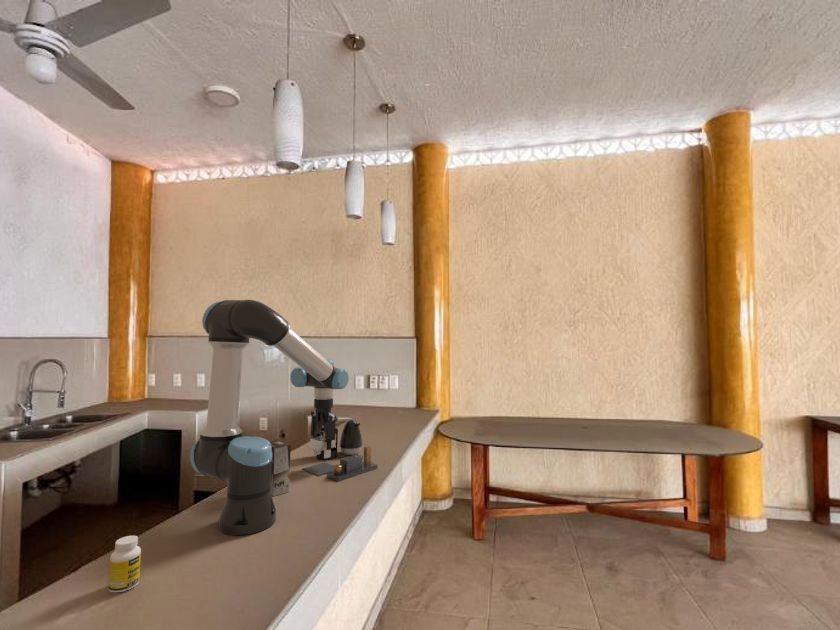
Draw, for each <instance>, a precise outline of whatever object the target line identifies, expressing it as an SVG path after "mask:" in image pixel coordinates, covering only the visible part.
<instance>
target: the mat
mask: <svg viewBox="0 0 840 630" xmlns="http://www.w3.org/2000/svg"><path fill="white" fill-rule="evenodd" d="M334 465H335V464H334ZM334 465H333V464H331V463H327V462H325V461H324V462H320V463H318V464H313V465H310V466H307V467H304V468H301V470H303V471H305V472H307V473H309V474H312V475H315V476H317V477H320V476H321V477H322V476H324V475H327V473H329V472H332V471H334Z"/></svg>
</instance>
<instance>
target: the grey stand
mask: <svg viewBox="0 0 840 630" xmlns="http://www.w3.org/2000/svg"><path fill="white" fill-rule="evenodd" d="M378 468H379V467H378V464H376V463H373V462H372V446H370V445H366V446H364V447H363V456H362V455H359V454H355V455H348V456H345V457H343V458H340V459H339V464H338V463H337V464H336V463H335V464H334V471H332V472H329V473H327V474H326V478H328V479H331V480H333V481H336V482H338V483H339V482H342V481H344V480H348V479H350V478H353V477H357V476H359V475H363V474H365V473H368V472H370V471H373V470H377V469H378Z"/></svg>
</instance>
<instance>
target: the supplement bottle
mask: <svg viewBox="0 0 840 630" xmlns="http://www.w3.org/2000/svg"><path fill="white" fill-rule="evenodd" d="M138 542H139V537H138V535H127V536H123V537H120V538H119V539H117V540H115V543H114V545H115V546H114V551H113V552H112V553H111V555H110V558H109V559H110V560H109V572H108V584H107V585H108V589H107V590H108V592H109V591H111V592H121V591H126V590H129V589H131V588H133V587H134V588H136V587H137V586H136V585H139V583H140V575H141V574H140V572H141V557H142V549H141V547H140V546H139V545H138ZM134 588H133V589H134ZM131 590H132V589H131ZM129 591H130V590H129ZM111 592H110V593H111ZM126 592H127V591H126Z"/></svg>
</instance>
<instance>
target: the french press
mask: <svg viewBox="0 0 840 630" xmlns="http://www.w3.org/2000/svg"><path fill="white" fill-rule="evenodd" d="M338 420H339V418H338V417H337V416H336V420H335V423H336V422H337V421H338ZM326 422H328V421H326ZM322 426H323V424H322ZM323 434H324V427H322V429H321V433H320V435H321V436H323ZM338 434H339V429H338V428H336V427H335V447H333V448H331V457H329V458H324V450H322V451H321V454H318V455H315V458H316V460H319V461H333V460H336V459H338V457H339V455H338V442H339V441H338V438H339V437H338V436H339V435H338ZM312 438H314V437H313V436H312Z"/></svg>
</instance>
